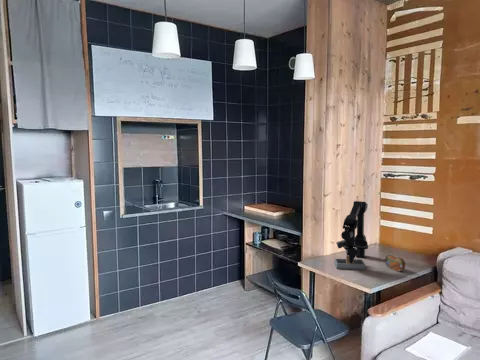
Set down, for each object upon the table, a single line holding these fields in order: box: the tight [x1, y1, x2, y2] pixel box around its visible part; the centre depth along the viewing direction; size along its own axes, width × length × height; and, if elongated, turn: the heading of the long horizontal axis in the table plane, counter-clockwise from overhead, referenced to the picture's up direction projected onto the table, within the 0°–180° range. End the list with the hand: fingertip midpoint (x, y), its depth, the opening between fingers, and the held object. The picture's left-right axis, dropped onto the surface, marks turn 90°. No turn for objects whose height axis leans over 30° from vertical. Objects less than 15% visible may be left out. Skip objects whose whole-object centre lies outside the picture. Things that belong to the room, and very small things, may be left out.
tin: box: [384, 254, 406, 272], centre depth 235 cm, size 15×3×8 cm, turn 21°
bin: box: [333, 258, 366, 271], centre depth 239 cm, size 11×18×4 cm, turn 83°
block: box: [345, 254, 353, 264], centre depth 239 cm, size 4×4×6 cm
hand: (349, 260), depth 239 cm, fingers open, 9 cm apart
